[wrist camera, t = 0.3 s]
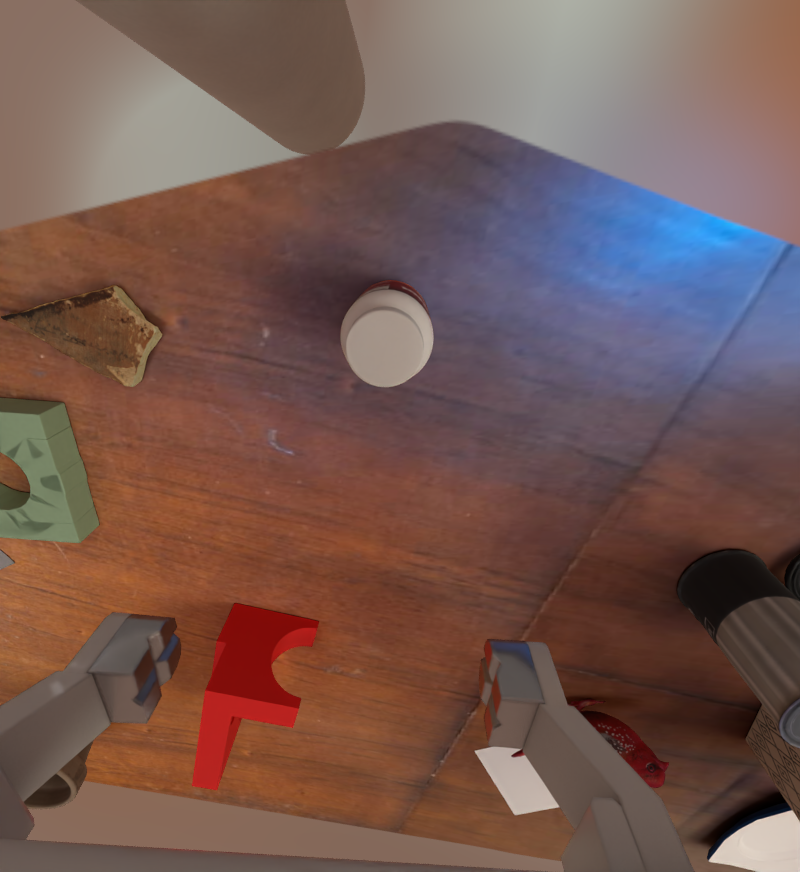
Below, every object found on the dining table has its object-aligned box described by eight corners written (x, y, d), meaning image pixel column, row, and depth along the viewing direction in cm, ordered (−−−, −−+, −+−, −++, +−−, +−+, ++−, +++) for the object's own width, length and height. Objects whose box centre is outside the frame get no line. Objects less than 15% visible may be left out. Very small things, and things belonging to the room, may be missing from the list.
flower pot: (125, 682, 56) (70, 768, 47) (126, 730, 61) (76, 817, 52) (34, 665, 55) (-40, 751, 46) (43, 716, 60) (-23, 802, 51)
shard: (15, 314, 35) (-4, 318, 33) (39, 231, 32) (20, 231, 31) (139, 386, 38) (127, 393, 36) (172, 315, 35) (160, 319, 33)
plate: (782, 865, 75) (794, 885, 73) (688, 841, 72) (698, 862, 69) (879, 812, 67) (896, 834, 64) (778, 783, 64) (792, 804, 61)
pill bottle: (440, 336, 35) (453, 376, 25) (375, 366, 36) (362, 415, 27) (409, 264, 33) (409, 277, 23) (340, 299, 34) (312, 326, 24)
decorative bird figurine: (635, 702, 56) (678, 792, 47) (501, 712, 57) (518, 801, 48) (637, 689, 55) (682, 778, 46) (500, 698, 56) (518, 787, 47)
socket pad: (-81, 390, 38) (-118, 402, 36) (66, 402, 38) (40, 415, 36) (-26, 515, 44) (-54, 533, 42) (101, 524, 45) (81, 543, 42)
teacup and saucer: (600, 772, 63) (611, 805, 59) (548, 782, 65) (556, 815, 61) (586, 740, 60) (598, 773, 56) (532, 752, 61) (540, 785, 58)
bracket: (194, 688, 40) (298, 708, 41) (234, 602, 49) (319, 621, 50) (182, 784, 48) (271, 799, 49) (219, 694, 57) (293, 709, 58)
